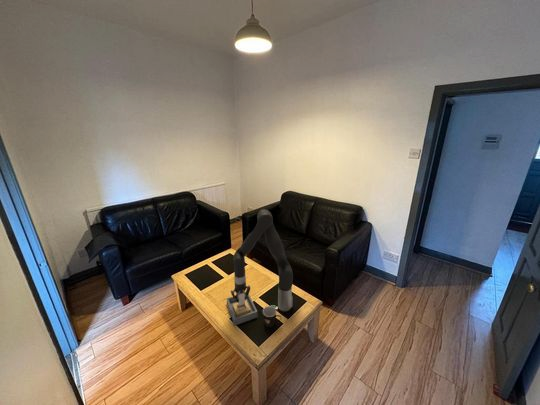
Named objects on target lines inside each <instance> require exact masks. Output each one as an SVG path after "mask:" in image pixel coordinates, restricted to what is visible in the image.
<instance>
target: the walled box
mask: <svg viewBox="0 0 540 405" xmlns="http://www.w3.org/2000/svg"><path fill="white" fill-rule="evenodd" d="M226 304H227V307H228V311H229V314H230V317H231V320H232V323H233V326H238V325H240V324H242V323H245V322H249V321H251V320H253V319H257V318H258V317H259V316H258V315H259V314H258V310H257V308H256V305H255V303H254V301H253V300H252V298H251V295H250V293H249V294H248V295H246V300H245V304H243V305H240V306H239V304H238V302H237V301H236V299H234V298H233V296H230V297H227V298H226Z"/></svg>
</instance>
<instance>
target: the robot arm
mask: <svg viewBox="0 0 540 405" xmlns="http://www.w3.org/2000/svg"><path fill="white" fill-rule="evenodd" d="M256 219H257V222H256V225H255V227H254V228H253V229H252V231H251V232H250V233H249V234H248V235H247V236H246V237H245V239H244V240H243V242H242V243H241V245H240V246H239V247H238V249H236V251H235V252H234V254H233V268H234V269H233V270H234V271H233V273H234V274H233V276H234V277H233V278H234V279H233V281H234V289H233V290H232V289H231V290H230V293H231V294H230V295H231V297H233V298H234V299H236V301H237V302H238V303H239V295H240V294H241V293H245V300H246V295H248V294H249V295H250V290H251V286H250V285H247V276H246V259H245V257H246V255H248V254H250V253H251V251H252V250H253V249H254V247H255V245H256V244H257V242H258V241H259V239H260V238H261V237H262V235H263V234H264V237H265V241H266V244H267V248H268V250H269V252H270V254H271V256H272V257H273V259H274V260H275V263H276V266H277V269H278V286H277V288H278V290H277V292H278V293H277V294H278V295H277V306H278V307H277V308H278V309H279V310H280V311H281V312H288V311H290V310H291V308H293V298H294V297H293V295H292V292H293V290H292V286H293V284H294V283H293V281H294V273H293V269H292V267H291V264H290V262H289V261H288V259H287V256H286V251H285V248H284V245H283V242H282V239H281V238H280V235H279V233H278V231H277V230H276V227H275V225H274V218H273V215H272V213H271V212H270V210H268V209H264V208H262V209H260V210H259V211H258V213H257V216H256Z"/></svg>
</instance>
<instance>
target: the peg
mask: <svg viewBox="0 0 540 405" xmlns="http://www.w3.org/2000/svg"><path fill="white" fill-rule="evenodd" d="M238 304H239V306H240V305H243V304H245V293H241V294H240V295H239V303H238Z"/></svg>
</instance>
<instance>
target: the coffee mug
mask: <svg viewBox="0 0 540 405" xmlns="http://www.w3.org/2000/svg"><path fill="white" fill-rule="evenodd" d="M262 316H263V321H264V326H265V327H266V328H273V327H274V326H275V323H276V322H281V321H282V316H281V315H279V314H277V310H276V307H274V306H272V305H269V306H265V307H264V308H263V309H262ZM277 317H279V318H280V319H278V320H276V318H277Z"/></svg>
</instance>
